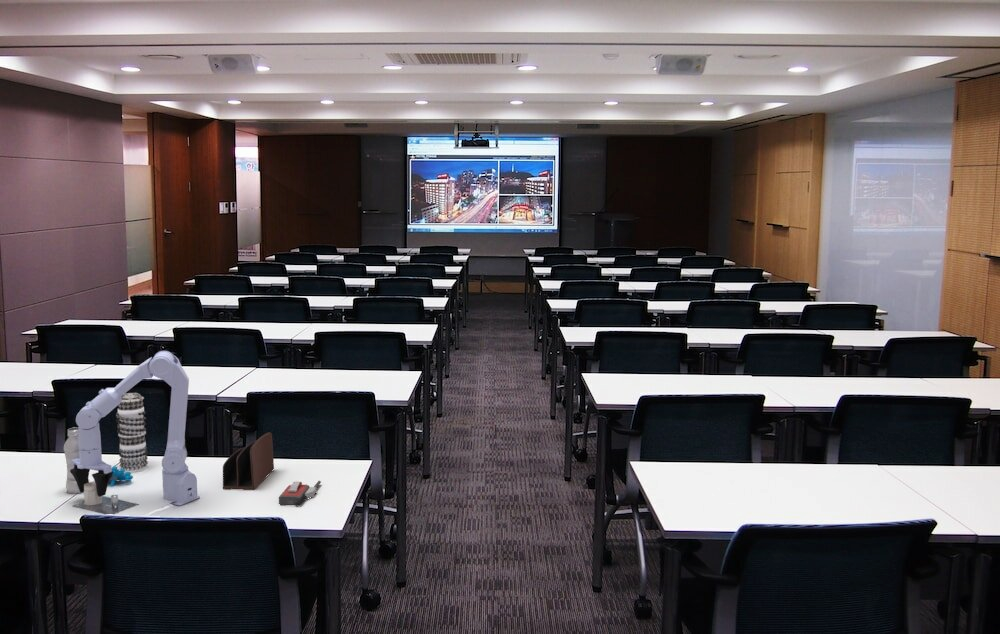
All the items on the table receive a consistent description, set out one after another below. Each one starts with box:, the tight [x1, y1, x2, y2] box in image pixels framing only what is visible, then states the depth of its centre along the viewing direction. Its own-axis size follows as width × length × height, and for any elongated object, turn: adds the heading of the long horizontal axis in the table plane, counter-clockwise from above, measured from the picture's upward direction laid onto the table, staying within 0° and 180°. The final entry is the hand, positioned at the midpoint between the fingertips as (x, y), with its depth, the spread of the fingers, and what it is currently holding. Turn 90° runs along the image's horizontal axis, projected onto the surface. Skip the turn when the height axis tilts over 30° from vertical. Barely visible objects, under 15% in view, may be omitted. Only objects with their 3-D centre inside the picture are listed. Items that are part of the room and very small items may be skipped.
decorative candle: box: [115, 392, 149, 473], centre depth 288 cm, size 9×9×25 cm
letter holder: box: [222, 431, 275, 491], centre depth 279 cm, size 10×20×14 cm, turn 177°
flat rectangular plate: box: [71, 494, 140, 515], centre depth 253 cm, size 16×10×4 cm, turn 63°
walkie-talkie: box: [278, 480, 322, 506], centre depth 265 cm, size 9×4×20 cm
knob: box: [83, 481, 102, 505], centre depth 255 cm, size 4×4×6 cm
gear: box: [109, 466, 134, 488], centre depth 271 cm, size 11×6×10 cm
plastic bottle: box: [63, 427, 90, 495], centre depth 264 cm, size 6×7×20 cm
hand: (92, 493), depth 255 cm, fingers open, 7 cm apart
